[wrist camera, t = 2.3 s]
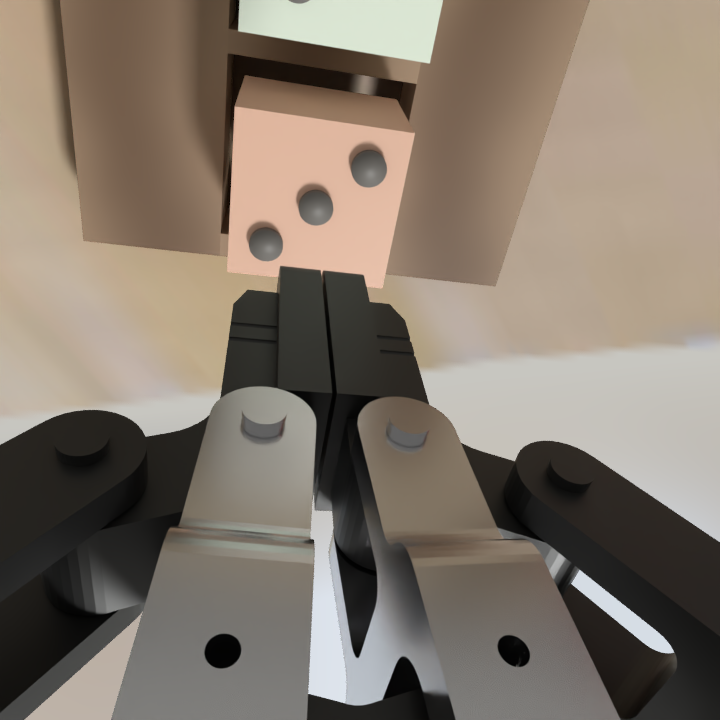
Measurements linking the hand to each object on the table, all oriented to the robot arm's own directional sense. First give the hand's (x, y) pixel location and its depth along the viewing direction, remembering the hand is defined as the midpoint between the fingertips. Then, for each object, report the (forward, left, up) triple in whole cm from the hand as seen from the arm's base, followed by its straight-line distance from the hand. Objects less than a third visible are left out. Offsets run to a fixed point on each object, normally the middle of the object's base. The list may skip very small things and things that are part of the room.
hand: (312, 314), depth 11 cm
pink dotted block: (0, 0, -9) cm, 9 cm away
